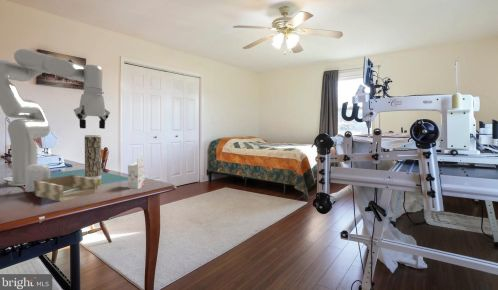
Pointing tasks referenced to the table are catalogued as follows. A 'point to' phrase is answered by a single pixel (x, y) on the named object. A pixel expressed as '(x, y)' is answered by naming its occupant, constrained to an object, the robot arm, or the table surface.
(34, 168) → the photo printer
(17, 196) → the table surface
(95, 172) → the bark covered post
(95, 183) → the tan open tray
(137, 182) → the ink cartridge box
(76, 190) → the sage offcut
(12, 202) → the table surface
